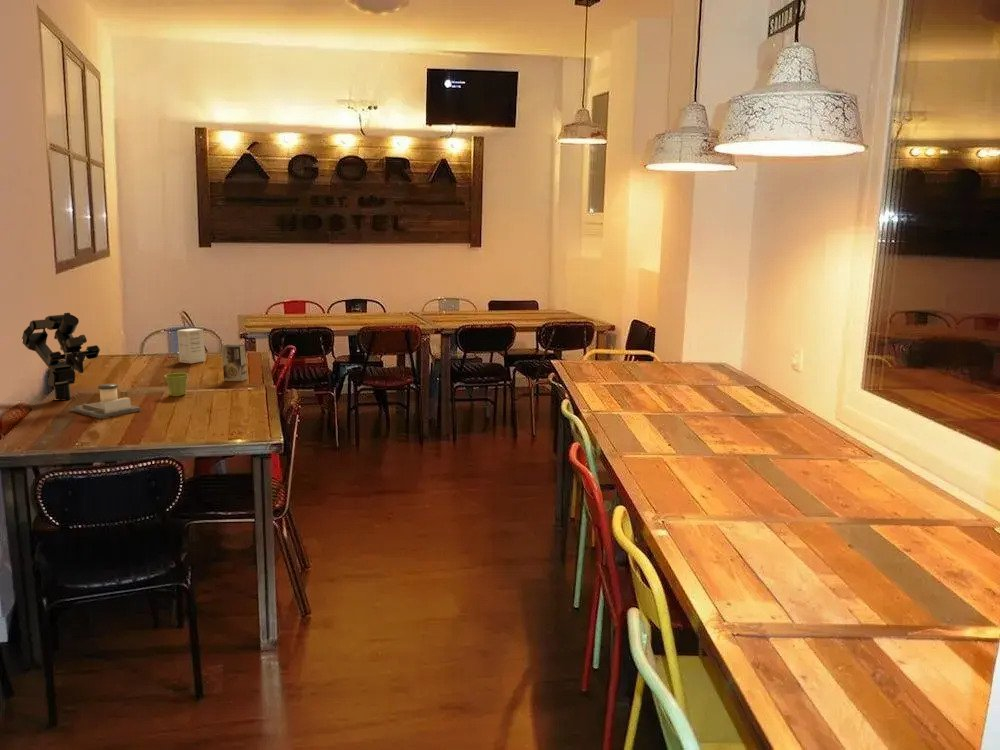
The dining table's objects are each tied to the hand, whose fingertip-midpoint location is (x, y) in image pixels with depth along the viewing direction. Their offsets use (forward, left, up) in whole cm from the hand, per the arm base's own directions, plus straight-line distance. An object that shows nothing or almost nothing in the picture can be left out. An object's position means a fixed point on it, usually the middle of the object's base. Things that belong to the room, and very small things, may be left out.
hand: (82, 372), depth 324 cm
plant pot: (-13, +33, -14) cm, 38 cm away
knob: (+14, +12, -12) cm, 22 cm away
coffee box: (-42, +54, -14) cm, 70 cm away
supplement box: (-97, +28, -14) cm, 102 cm away
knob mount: (+12, +10, -14) cm, 20 cm away
